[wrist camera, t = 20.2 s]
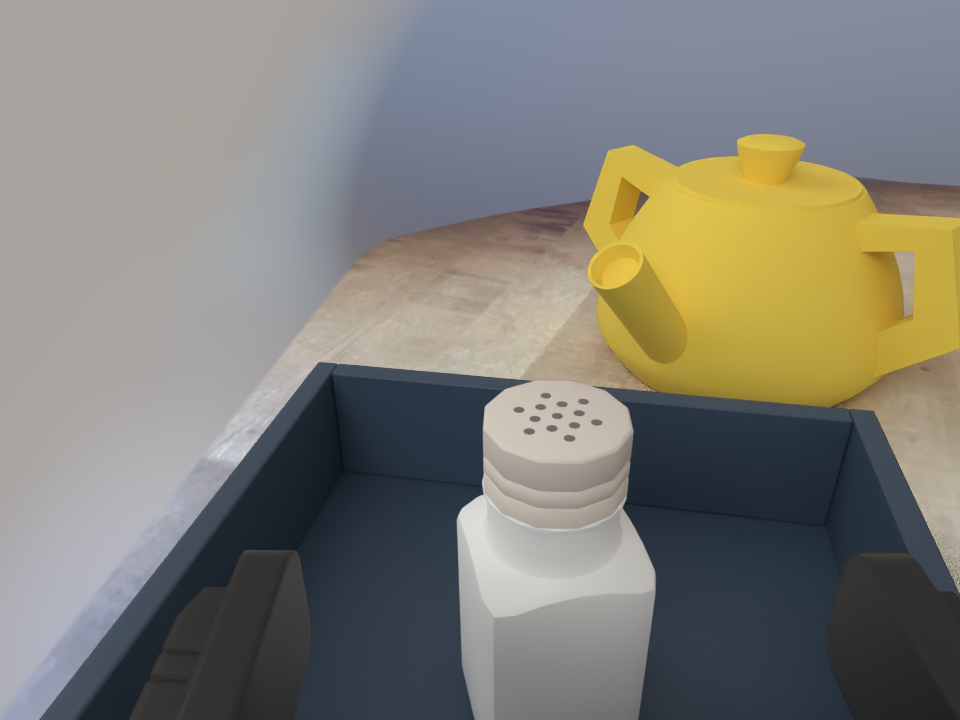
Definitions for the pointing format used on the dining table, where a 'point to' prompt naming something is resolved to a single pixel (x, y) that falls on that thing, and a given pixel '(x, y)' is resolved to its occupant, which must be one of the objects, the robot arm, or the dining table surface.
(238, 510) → the tray
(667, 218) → the teapot
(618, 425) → the salt shaker
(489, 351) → the dining table surface
